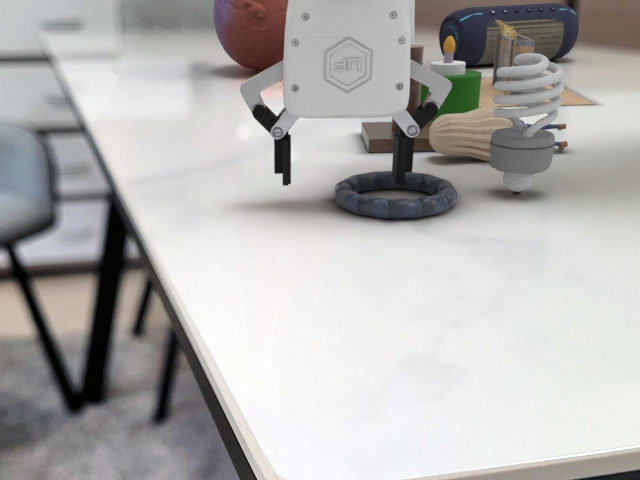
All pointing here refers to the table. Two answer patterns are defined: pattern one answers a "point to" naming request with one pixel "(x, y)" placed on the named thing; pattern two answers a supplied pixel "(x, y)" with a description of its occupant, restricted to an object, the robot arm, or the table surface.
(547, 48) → the portable speaker
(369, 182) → the segmented blue ring
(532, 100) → the light bulb
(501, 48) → the architectural model on board
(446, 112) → the candle
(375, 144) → the stand
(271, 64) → the sculpture
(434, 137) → the figurine
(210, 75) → the table surface
